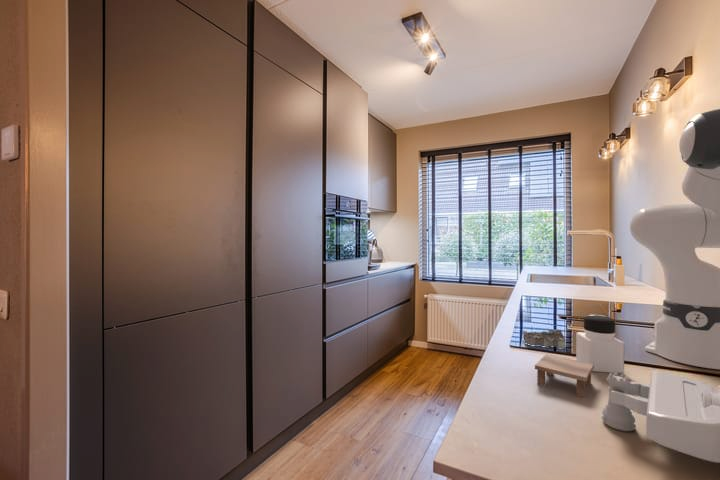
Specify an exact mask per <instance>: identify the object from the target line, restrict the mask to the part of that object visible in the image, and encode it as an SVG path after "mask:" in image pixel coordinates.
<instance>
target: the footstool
mask: <svg viewBox="0 0 720 480" xmlns="http://www.w3.org/2000/svg"><path fill="white" fill-rule="evenodd" d="M593 369H594V364H590V363H586V362H581V361H577V360H575V359H571V358H566V357H562V356H557V355H553V354H547V353H545V354H544V356H543V357H541V358H540V360H539V361H538V362H536V363H535V364H534V370H536V371H537V374H536V375H537V379H536V382H537V385H539V386H542V387H545V385H546V375H549V376H553V375H558V376H562V377H566V378H571V379H573V380H576V396H578V397H583V398H585V396H586V385H589V386H591V384H592V372H593V371H592V370H593Z"/></svg>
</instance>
